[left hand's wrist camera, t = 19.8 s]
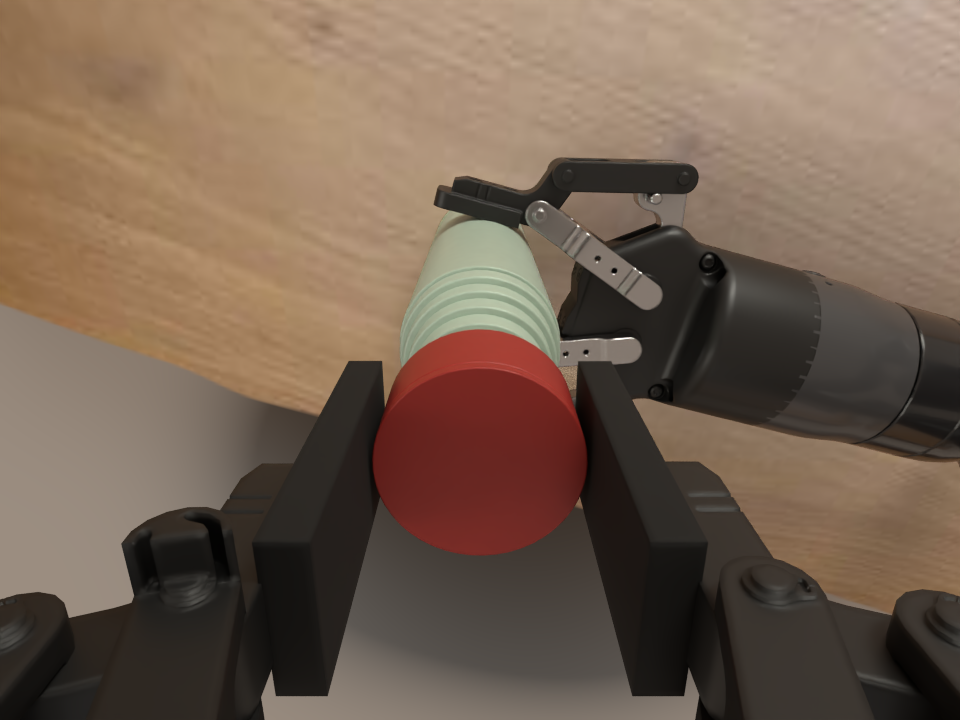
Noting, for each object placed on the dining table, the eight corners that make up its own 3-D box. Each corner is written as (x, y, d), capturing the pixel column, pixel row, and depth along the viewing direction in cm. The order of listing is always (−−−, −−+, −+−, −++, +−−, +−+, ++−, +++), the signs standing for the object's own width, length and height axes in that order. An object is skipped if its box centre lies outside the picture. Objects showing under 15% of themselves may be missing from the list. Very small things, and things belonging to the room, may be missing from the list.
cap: (604, 442, 15) (625, 497, 13) (452, 522, 16) (448, 586, 14) (511, 292, 14) (517, 326, 11) (350, 389, 14) (328, 436, 12)
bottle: (538, 216, 34) (635, 384, 13) (506, 299, 36) (543, 569, 14) (452, 184, 33) (403, 304, 12) (423, 270, 35) (336, 507, 14)
